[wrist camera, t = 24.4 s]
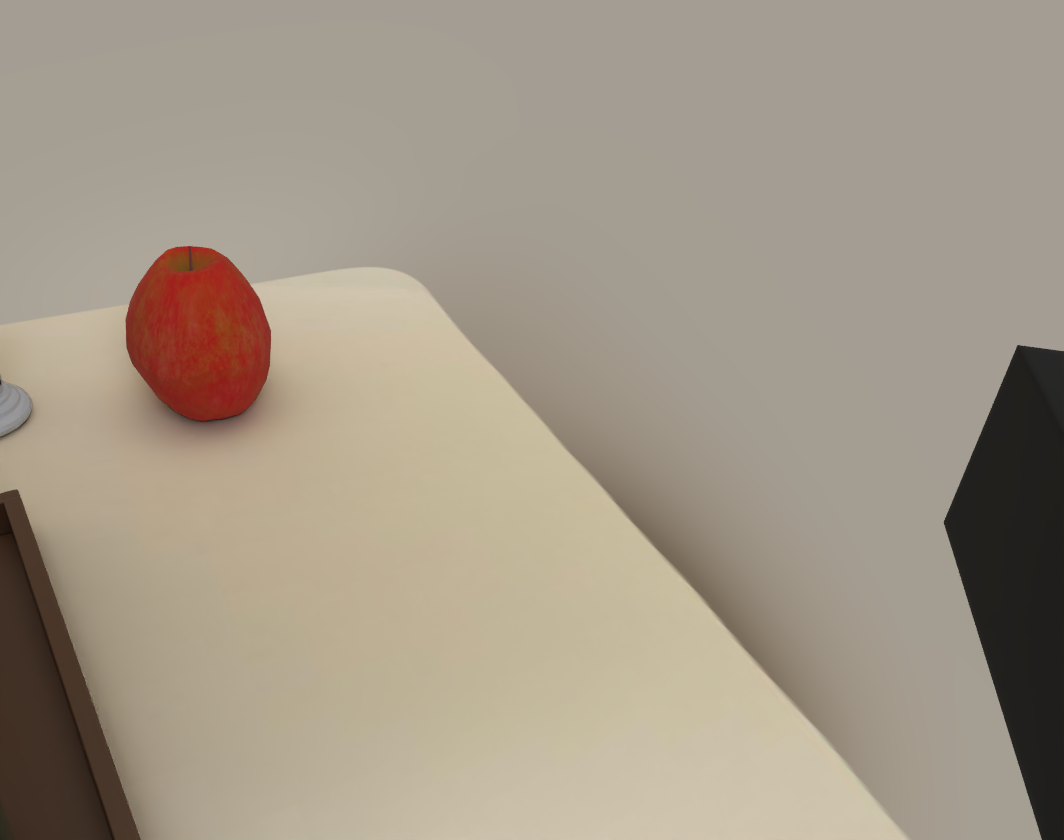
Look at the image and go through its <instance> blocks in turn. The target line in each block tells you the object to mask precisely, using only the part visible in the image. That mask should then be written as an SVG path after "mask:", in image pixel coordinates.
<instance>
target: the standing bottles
mask: <svg viewBox="0 0 1064 840" xmlns="http://www.w3.org/2000/svg"><path fill="white" fill-rule="evenodd" d="M0 840H16V839H15V836H14V833H13V830H12V827H11V825H10V822H9V819H8V816H7V814H6V811H5V808H4V805H3V803H2V800H1V797H0Z"/></svg>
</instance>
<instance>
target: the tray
mask: <svg viewBox="0 0 1064 840" xmlns="http://www.w3.org/2000/svg"><path fill="white" fill-rule="evenodd" d="M0 797H1V800H2V803H3V805H4V808H5V811H6V814H7V816H8V819H9V822H10V825H11V827H12V830H13V833H14V836H15V839H16V840H140V837H139V834H138V831H137V828H136V825H135V822H134V820H133V817H132V814H131V811H130V808H129V805H128V802H127V800H126V797H125V794H124V791H123V788H122V785H121V782H120V780H119V777H118V774H117V771H116V768H115V765H114V763H113V760H112V757H111V754H110V751H109V748H108V745H107V743H106V740H105V737H104V734H103V731H102V728H101V725H100V723H99V720H98V717H97V714H96V711H95V708H94V705H93V703H92V700H91V697H90V694H89V691H88V688H87V685H86V683H85V680H84V677H83V674H82V671H81V668H80V665H79V663H78V660H77V657H76V654H75V651H74V648H73V645H72V643H71V640H70V637H69V634H68V631H67V628H66V625H65V623H64V620H63V617H62V614H61V611H60V608H59V606H58V603H57V600H56V597H55V594H54V591H53V588H52V586H51V583H50V580H49V577H48V574H47V571H46V568H45V566H44V563H43V560H42V557H41V554H40V551H39V548H38V546H37V543H36V540H35V537H34V534H33V531H32V528H31V526H30V523H29V520H28V517H27V514H26V511H25V508H24V506H23V503H22V500H21V497H20V494H19V491H18V490H12V491H8V492H4V493H1V494H0Z"/></svg>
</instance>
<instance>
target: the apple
mask: <svg viewBox="0 0 1064 840" xmlns="http://www.w3.org/2000/svg"><path fill="white" fill-rule="evenodd" d="M126 344H127V350H128V353H129V356H130V359H131V361H132V364H133V365H134V367H135V368H136V369H137V371H138V372H139V373H140V375H141V376H142V377H143V378H144V380H145V381H146V382H147V384H148V385H149V386H150V388H151V389H152V390H153V392H154V393H155V394H156V395H157V397H158V398H159V399H160V400H162V401H163V402H164V403H165V404H167V405H168V406H169V407H171V408H172V409H173V410H174V411H176V412H178V413H180V414H181V415H183V416H185V417H187V418H189V419H194V420H199V421H206V420H215V419H223V418H227V417H231V416H235V415H238V414H241V413H242V412H243V411H245V410H246V409H247V408H248V407H249V406H250V405H251V404H252V403H253V402H254V401H255V399H256V398H257V396H258V394H259V392H260V391H261V389H262V387H263V385H264V383H265V382H266V379H267V375H268V371H269V366H270V349H271V330H270V327H269V324H268V321H267V319H266V316H265V313H264V310H263V307H262V305H261V302H260V299H259V297H258V296H257V294H256V293H255V291H254V290H253V288H252V287H251V285H250V284H249V282H248V281H247V280H246V278H245V277H244V276H243V275H242V273H241V272H240V271H239V270H238V269H237V268H236V267H235V265H234V264H233V263H232V262H231V261H230V260H229V259H228V258H227V257H225V256H223V255H222V254H220V253H219V252H216V251H215V250H213V249H209V248H203V247H192V246H187V247H175V248H172V249H169V250H167V251H165V253H164V254H162V255H161V256H160V257H159V258H158V259H157V260H156V261H155V262H154V264H153V265H152V266H151V267H150V268H149V270H148V271H147V273H146V274H145V276H144V277H143V278H142V280H141V281H140V283H139V284H138V286H137V288H136V290H135V292H134V294H133V296H132V299H131V301H130V304H129V308H128V312H127V316H126Z"/></svg>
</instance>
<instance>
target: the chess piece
mask: <svg viewBox="0 0 1064 840" xmlns="http://www.w3.org/2000/svg"><path fill="white" fill-rule="evenodd" d="M0 379H1V376H0ZM1 383H2V384H1V385H0V436H3V435H5V434H8V433H10V432H11V431H13V430H15V429H16V428H18V427H19V426H20V425H21V424H23V423H24V422H25V421H26V420H27V418H28V417H29V415H30V413H31V409H32V401H31V399H30V397H29V395H28V394H27V393H26V392H25V391H24V390H23V389H22V388H20V387H18V386H15V385H12V384H9V383H6V382H3V381H2V379H1Z"/></svg>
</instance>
